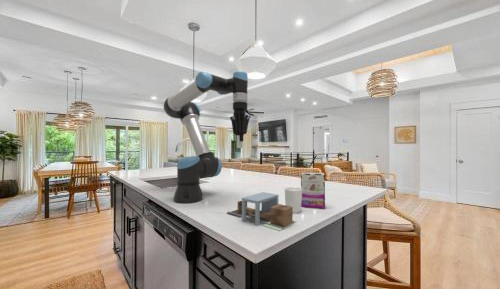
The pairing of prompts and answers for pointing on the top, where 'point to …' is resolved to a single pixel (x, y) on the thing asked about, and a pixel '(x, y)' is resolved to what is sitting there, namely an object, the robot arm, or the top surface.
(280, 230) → the mat
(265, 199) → the tunnel
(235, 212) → the dark grey flat plate
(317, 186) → the candy bar box
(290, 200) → the white cup
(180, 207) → the top surface
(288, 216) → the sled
